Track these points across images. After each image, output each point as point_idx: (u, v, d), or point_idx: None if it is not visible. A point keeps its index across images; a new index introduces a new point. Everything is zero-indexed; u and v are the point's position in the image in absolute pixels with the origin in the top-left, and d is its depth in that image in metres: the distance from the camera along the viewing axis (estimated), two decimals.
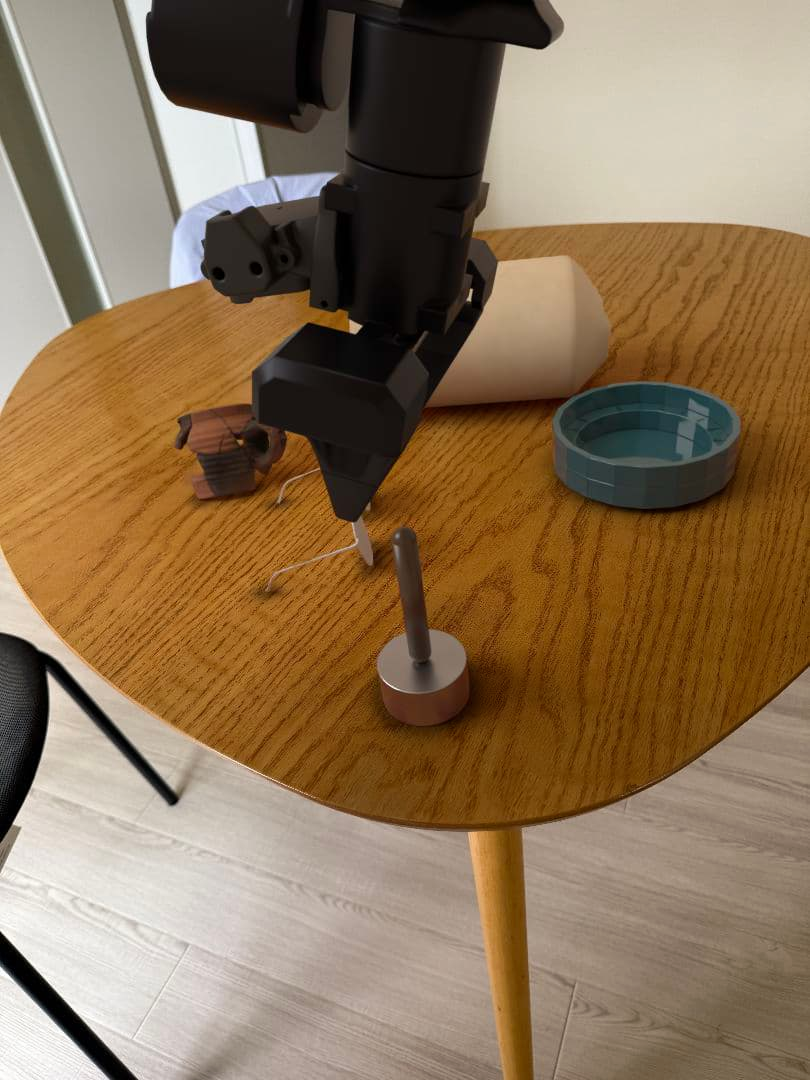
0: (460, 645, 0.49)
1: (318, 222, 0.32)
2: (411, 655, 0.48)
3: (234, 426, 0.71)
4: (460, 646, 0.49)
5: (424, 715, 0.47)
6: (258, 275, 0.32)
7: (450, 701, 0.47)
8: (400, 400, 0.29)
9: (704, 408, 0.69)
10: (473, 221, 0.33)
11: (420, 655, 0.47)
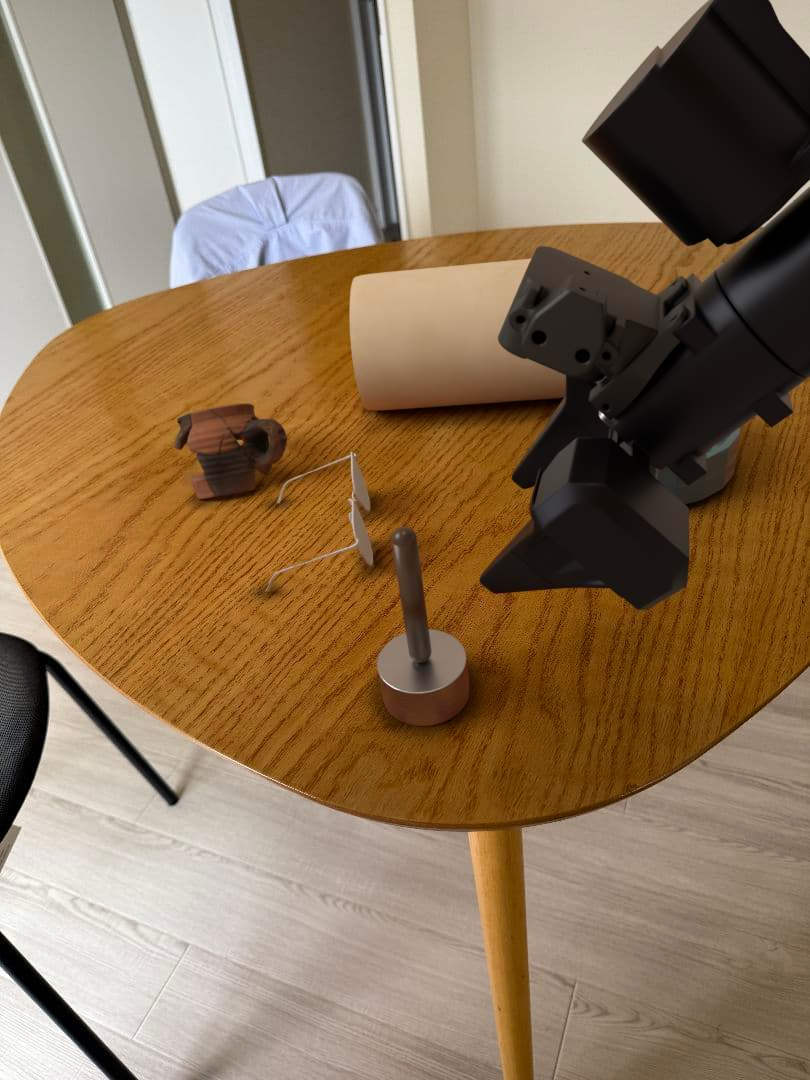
0: (460, 645, 0.49)
1: (656, 340, 0.30)
2: (411, 655, 0.48)
3: (234, 426, 0.71)
4: (460, 646, 0.49)
5: (424, 715, 0.47)
6: (579, 362, 0.30)
7: (450, 701, 0.47)
8: None
9: None
10: None
11: (420, 655, 0.47)
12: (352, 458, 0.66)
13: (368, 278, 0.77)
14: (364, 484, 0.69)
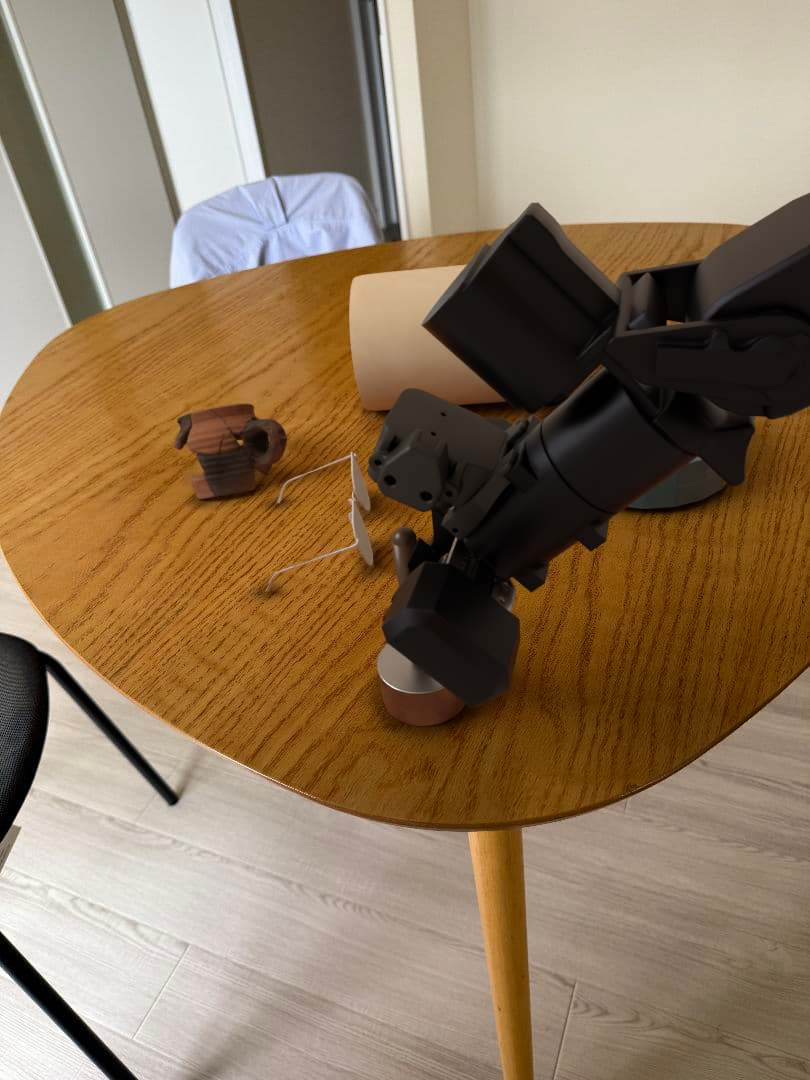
0: None
1: (491, 481, 0.36)
2: None
3: (234, 426, 0.71)
4: None
5: (424, 715, 0.47)
6: (424, 501, 0.36)
7: (450, 701, 0.47)
8: (509, 679, 0.35)
9: None
10: None
11: None
12: (352, 458, 0.66)
13: (368, 278, 0.77)
14: (364, 484, 0.69)
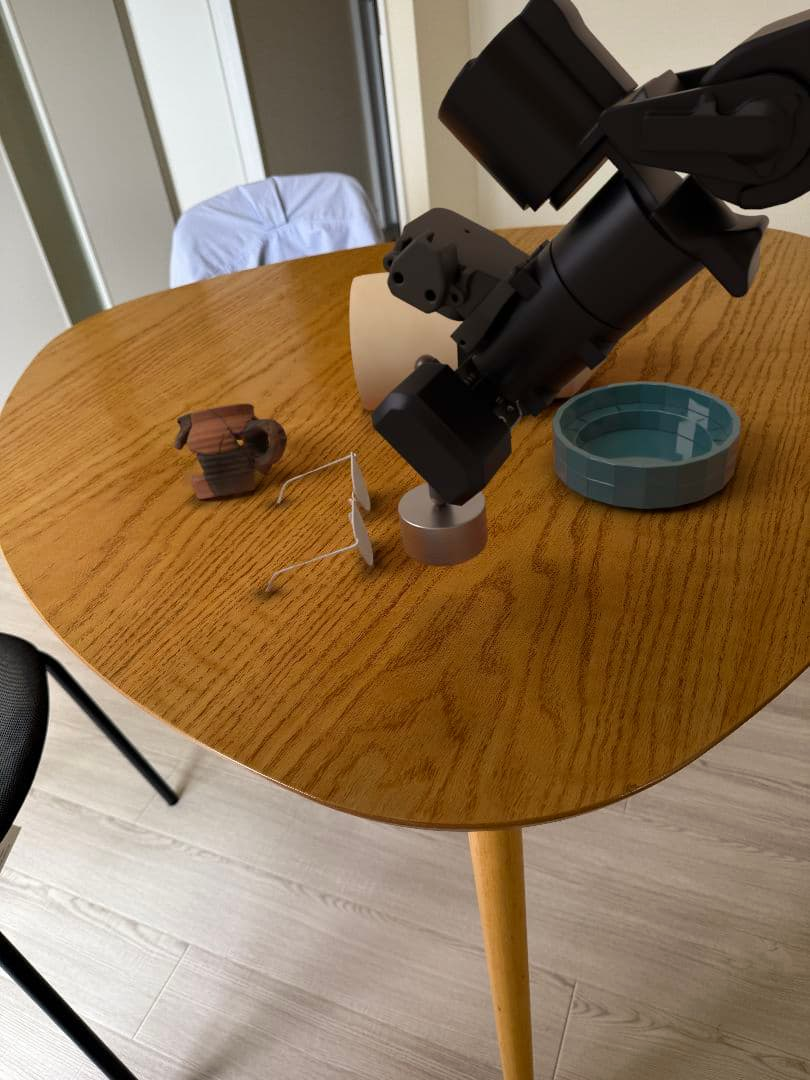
0: (482, 495, 0.50)
1: (496, 288, 0.37)
2: (430, 495, 0.49)
3: (234, 426, 0.71)
4: (481, 496, 0.50)
5: (435, 554, 0.49)
6: (428, 301, 0.37)
7: (461, 543, 0.49)
8: (486, 476, 0.36)
9: (704, 408, 0.69)
10: None
11: (438, 495, 0.49)
12: (352, 458, 0.66)
13: (368, 278, 0.77)
14: (364, 484, 0.69)
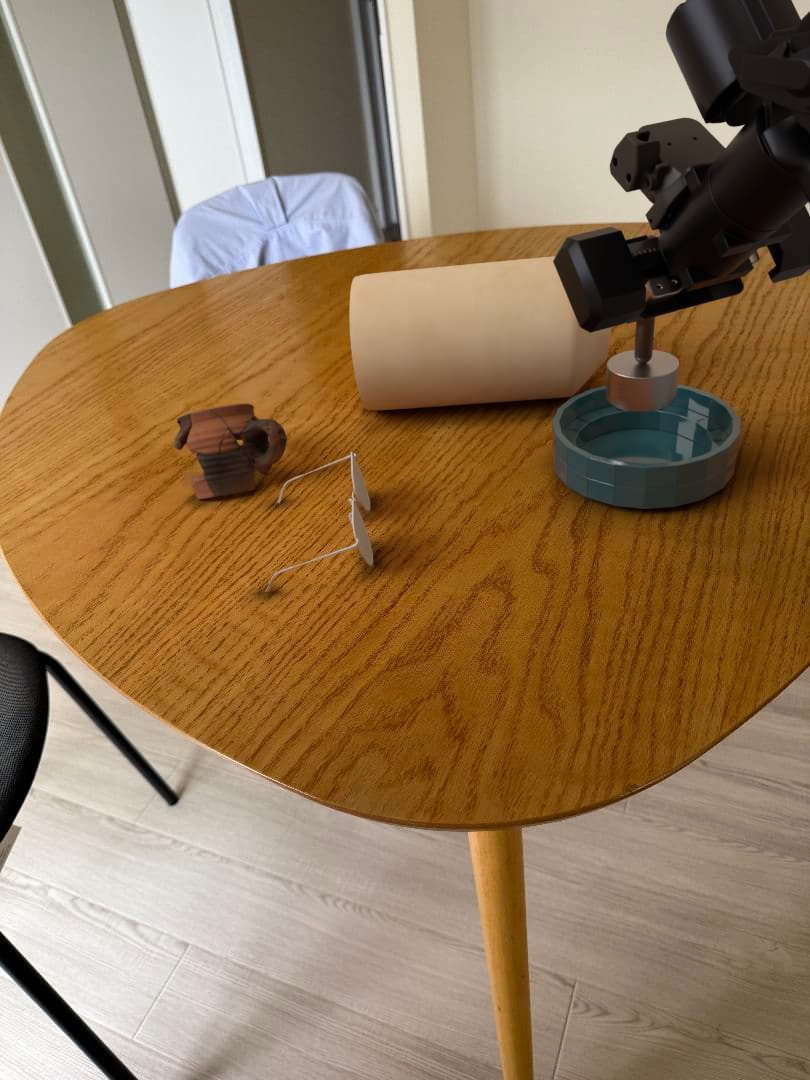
0: (676, 367, 0.62)
1: (676, 180, 0.49)
2: (634, 353, 0.63)
3: (234, 426, 0.71)
4: (675, 367, 0.62)
5: (617, 397, 0.63)
6: (627, 182, 0.51)
7: (638, 395, 0.62)
8: (605, 312, 0.51)
9: (704, 408, 0.69)
10: (752, 249, 0.48)
11: (638, 354, 0.62)
12: (352, 458, 0.66)
13: (368, 278, 0.77)
14: (364, 484, 0.69)
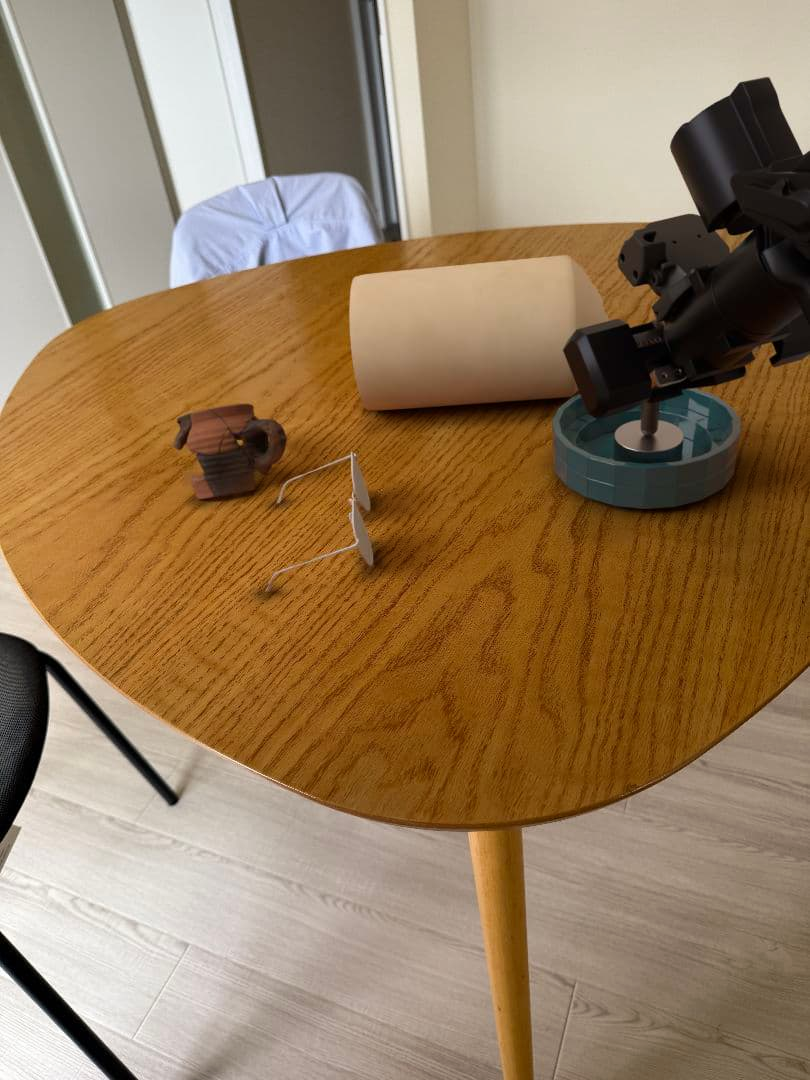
0: (681, 440, 0.64)
1: (681, 280, 0.52)
2: (640, 425, 0.65)
3: (234, 426, 0.71)
4: (679, 440, 0.64)
5: None
6: (634, 278, 0.54)
7: None
8: (612, 403, 0.53)
9: (704, 408, 0.69)
10: (753, 347, 0.51)
11: (644, 427, 0.65)
12: (352, 458, 0.66)
13: (368, 278, 0.77)
14: (364, 484, 0.69)
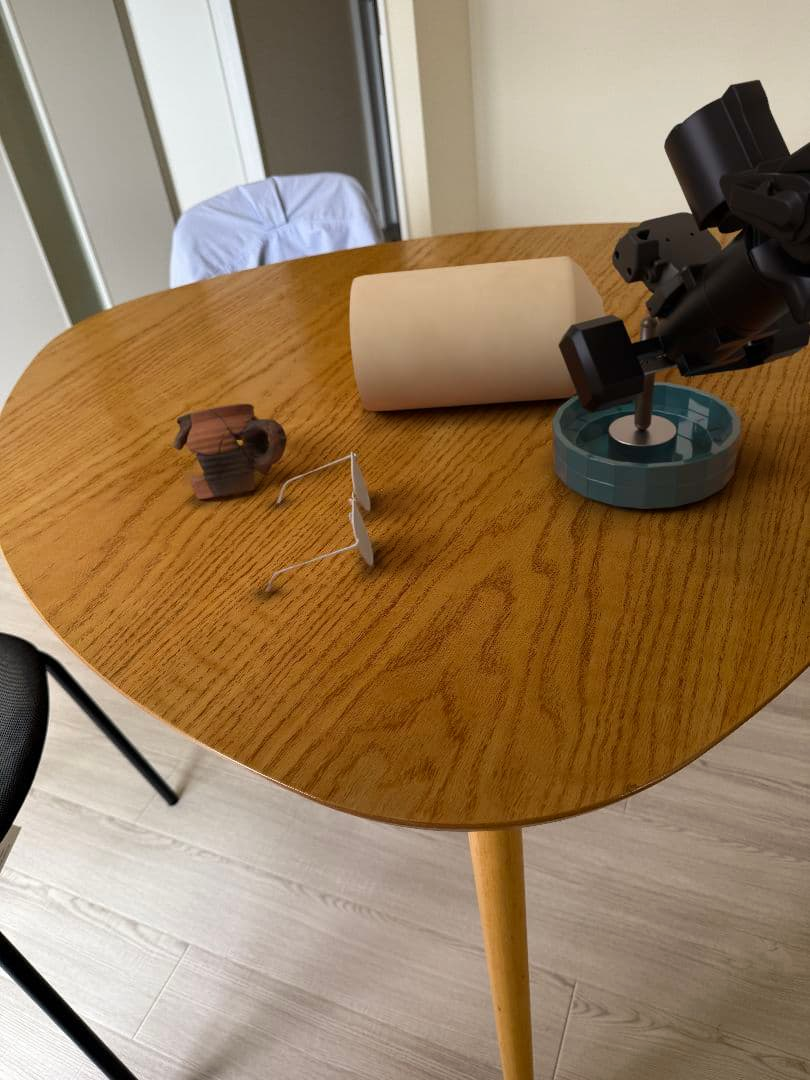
0: (673, 434, 0.66)
1: (673, 277, 0.53)
2: (634, 420, 0.67)
3: (234, 426, 0.71)
4: (672, 434, 0.66)
5: None
6: (628, 275, 0.55)
7: (637, 460, 0.66)
8: (605, 397, 0.54)
9: (704, 408, 0.69)
10: (743, 342, 0.52)
11: (637, 421, 0.66)
12: (352, 458, 0.66)
13: (368, 279, 0.77)
14: (364, 484, 0.69)
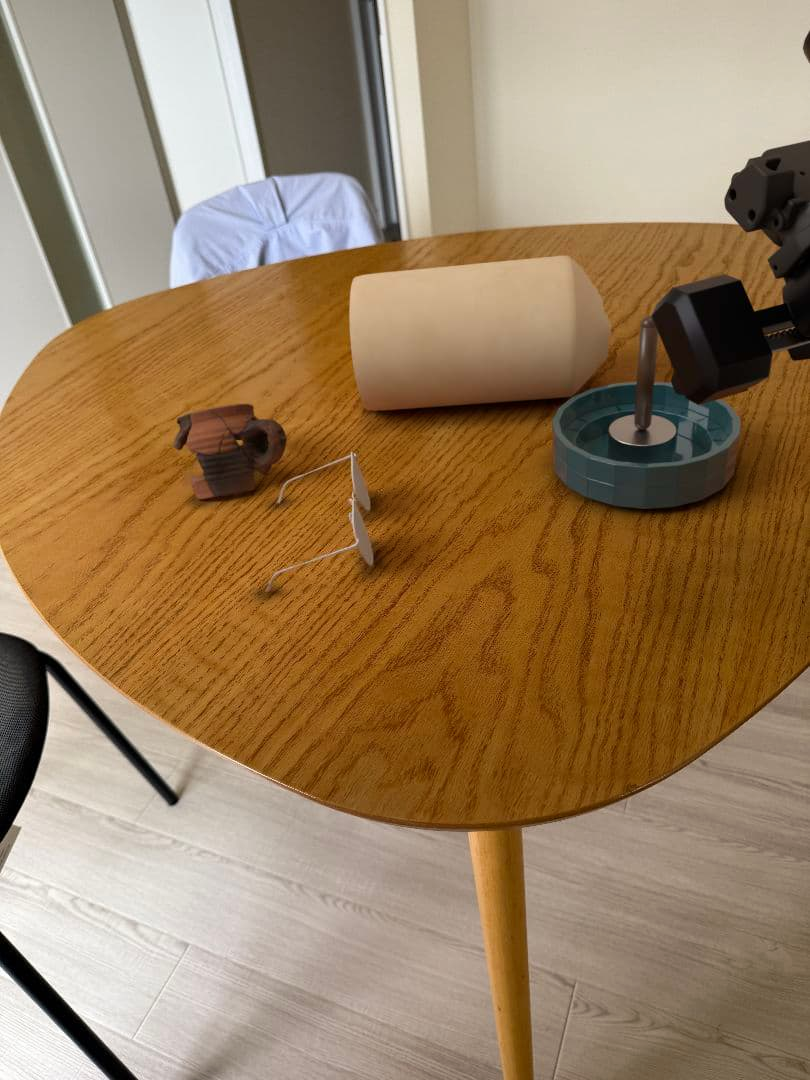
0: (673, 434, 0.66)
1: None
2: (634, 420, 0.67)
3: (234, 426, 0.71)
4: (672, 434, 0.66)
5: None
6: (749, 220, 0.41)
7: (637, 460, 0.66)
8: (721, 383, 0.41)
9: (704, 408, 0.69)
10: None
11: (637, 421, 0.66)
12: (352, 458, 0.66)
13: (368, 278, 0.77)
14: (364, 484, 0.69)
